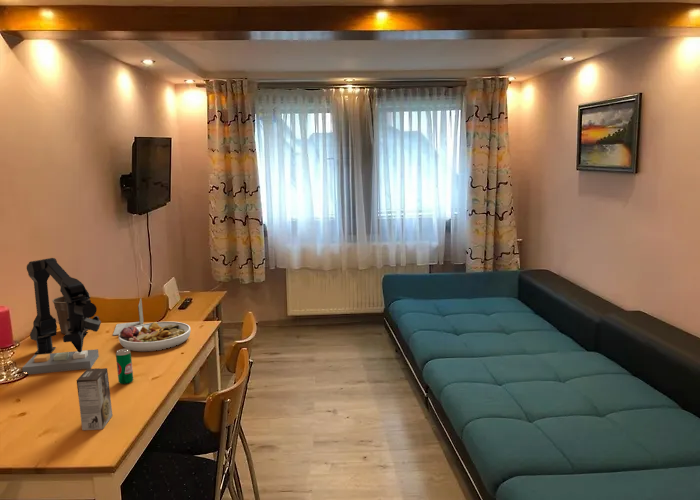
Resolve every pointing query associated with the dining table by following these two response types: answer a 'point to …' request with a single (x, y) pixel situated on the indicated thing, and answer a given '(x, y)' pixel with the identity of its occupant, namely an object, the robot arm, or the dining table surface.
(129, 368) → the soda can
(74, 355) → the off white button
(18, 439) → the dining table surface
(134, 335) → the bowl
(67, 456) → the dining table surface
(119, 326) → the laptop
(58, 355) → the sage button
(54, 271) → the robot arm
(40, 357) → the orange button
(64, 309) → the plant pot
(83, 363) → the panel
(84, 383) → the coffee box
